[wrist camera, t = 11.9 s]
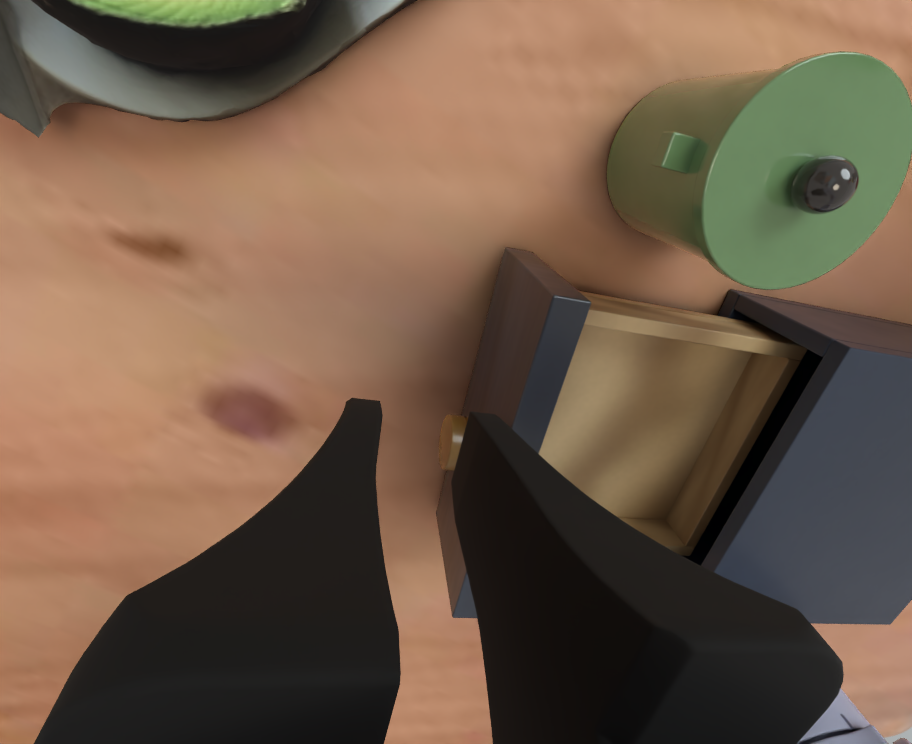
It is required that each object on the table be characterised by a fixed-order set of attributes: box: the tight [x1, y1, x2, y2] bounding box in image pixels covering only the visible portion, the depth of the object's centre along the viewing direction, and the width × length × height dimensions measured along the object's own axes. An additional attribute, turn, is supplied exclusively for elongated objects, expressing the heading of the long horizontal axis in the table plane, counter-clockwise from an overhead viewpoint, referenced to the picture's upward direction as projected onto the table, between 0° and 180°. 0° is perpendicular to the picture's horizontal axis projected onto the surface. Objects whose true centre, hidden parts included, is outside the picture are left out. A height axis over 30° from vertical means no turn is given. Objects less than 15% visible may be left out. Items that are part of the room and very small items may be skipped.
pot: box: [607, 51, 912, 290], centre depth 15 cm, size 6×7×8 cm
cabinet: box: [681, 290, 912, 624], centre depth 23 cm, size 12×13×6 cm
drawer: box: [436, 247, 808, 618], centre depth 20 cm, size 14×13×6 cm
